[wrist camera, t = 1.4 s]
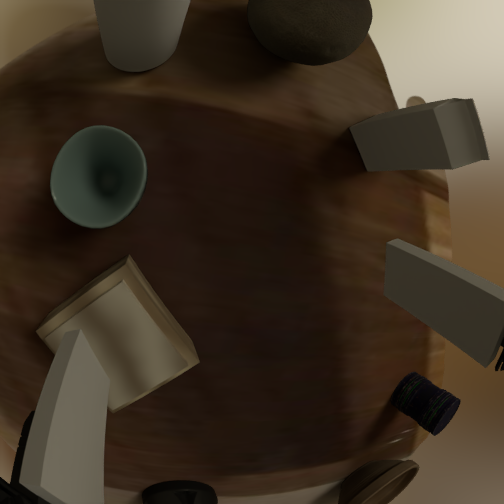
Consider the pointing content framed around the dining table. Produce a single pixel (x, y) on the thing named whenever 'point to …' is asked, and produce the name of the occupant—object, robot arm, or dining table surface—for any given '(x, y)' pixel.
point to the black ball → (310, 28)
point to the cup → (99, 177)
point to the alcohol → (140, 31)
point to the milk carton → (422, 137)
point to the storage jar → (425, 402)
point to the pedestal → (124, 332)
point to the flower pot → (377, 482)
